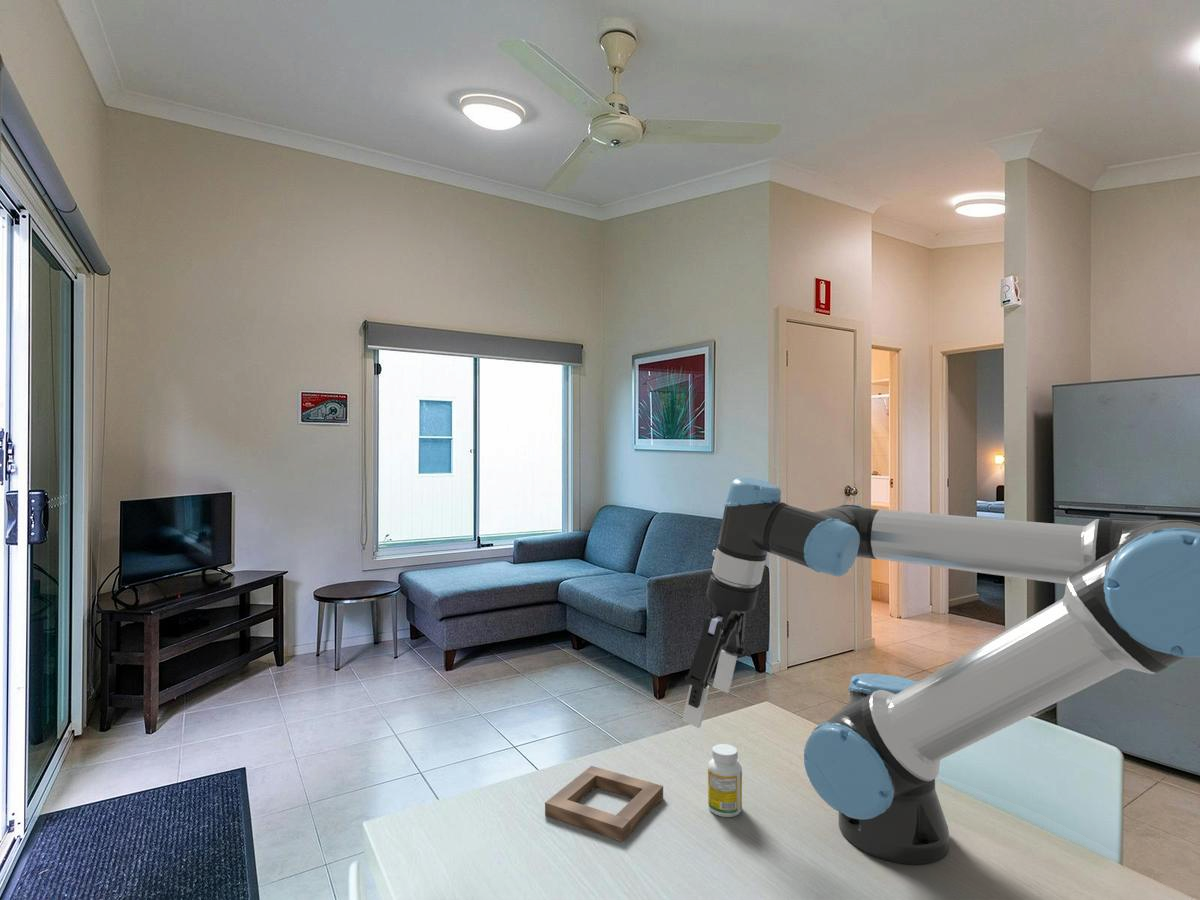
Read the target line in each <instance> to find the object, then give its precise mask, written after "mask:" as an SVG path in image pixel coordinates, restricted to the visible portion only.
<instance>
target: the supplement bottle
mask: <svg viewBox="0 0 1200 900" xmlns="http://www.w3.org/2000/svg"><path fill="white" fill-rule="evenodd" d="M738 755H739V754H738V749H737V748H736V747H735V746H733V745H731V744H728V743H719V744H715V745H713V747H712V748H711V757H712V758H711V759H710V760H709V762H708V764H707V788H708V789H707V791H708V792H707V797H708V798H707V799H708V800H707V801H708V804H707V805H708V808H709V811H710V812H711V813H712V814H714V815H716V816H719V817H723V818H733V817H736V816H738V815H740V813H741V811H742V809H743V807H742V806H743V801H742V800H743V781H742V780H743V768H742V765H741V763H740V761H739V760H738V757H739V756H738Z"/></svg>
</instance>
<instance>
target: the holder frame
mask: <svg viewBox="0 0 1200 900" xmlns="http://www.w3.org/2000/svg"><path fill="white" fill-rule="evenodd" d="M596 786H597V787H596ZM594 787H595V788H598V787H600V788H599V789H601V788H603V789H602V790H605V789H606V790H605V791H608V790H609V791H608V792H611V791H613V792H612V793H616V794H618V793H619V795H621V794H623V795H622V796H625V797H628V796H629V798H631V797H632V799H631V800H629V801H628V803H627V804H625V806H624V807H622V809H620V811H619V812H618V813H617V814H613V813H611V812H607V811H604V810H600V809H597V808H594V807H592V806H588V805H585V804H582V803H579V802H581V799H582V798H583V797H584V798H585V797H586V796H587V795H588V793H589V792H590V791H591V790H592V789H593V788H594ZM595 788H594V789H595ZM594 789H593V790H594ZM593 790H592V791H593ZM592 791H591V792H592ZM591 792H590V793H591ZM590 793H589V794H590ZM584 798H583V799H584ZM583 799H582V800H583ZM663 799H664V785H661V784H658V783H654V782H651V781H648V780H647V781H646V780H644V779H639V778H637V777H633V776H629V775H625V774H622V773H619V772H615V771H612V770H607V769H605V768H601V767H597V766H594V765H590V766H589V767H587V768H586V769H585V770H584V771H583V772H581V773H580V774H579V775H578V776H575V778H574V779H573V780H571V781H570V782H569V783H567V784H566V785H565V786H564V787H563V788H561V789H560V790H559V791H558V792H557V793H555V794H553V796H551V797H550V798H549V799H548V800H547V801H545V802H544V816H547V817H549V818H552V819H555V820H557V821H561V822H564V823H567V824H569V825H573V826H576V827H579V828H582V829H584V830H587V831H590V832H593V833H596V834H600V835H602V836H605V837H608V838H610V839H614V840H616V841H620V842H624V841H625V840H626V839H627V838H628V837H629V835H630V834H631V833H632V832H633V831H634V830H635V829H636V828H637V827H638V826H639V825H640V823H642V821H643V820H645V818H647V816H648V815H650V813H651V812H652V811H653V810H654V808H656V807H657V806H658V804H659V803H660V802H661V801H662V800H663Z"/></svg>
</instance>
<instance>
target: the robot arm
mask: <svg viewBox="0 0 1200 900" xmlns="http://www.w3.org/2000/svg"><path fill="white" fill-rule="evenodd" d="M781 495H782V490H781V488H780V487H779V486H778V485H775V484H773V483H771V482H769V481H765V480H762V479H757V478H751V477H739V478H738V477H737V478H736V479H734V480H733V481H731V483H730V487H729V490H728V493H727V498H726V501H725V503H724V511H723V516H722V521H721V526H720V530H719V535H718V540H717V544H716V549H713V551H711V555H712V557H714V560H713V563H712V568H711V571H712V574H711V575H709V580H708V583H707V589H706V592H705V593H706V598H707V600H708V601H709V602H710V603H712V604H713V606H714V607H715V610H714V612H712V613H711V615H710V616H706V619H705V620H704V627H703V630H702V633H701V637H700V640H699V643H698V645H697V648H696V651H695V653H694V656H693V659H692V662H691V665H690V668H689V671H688V674H687V675H685V676H684V681H685V684H688V685H689V687H688V693H687V697H686V702H685V705H684V711H683V715H682V722H684V723H687V724H689V725H691V726H693V727H695V728H696V729H699V728H701V726H702V722H703V718H704V717H703V716H704V712H705V708H706V704H707V701H708V700H707V699H708V696H709V695H708V694H709V690H710V685H709V682H710V680H711V678H712V674H713V672H714V670H715V667H716V670H715V674H714V679H713V682H712V688H714V689H716V690H719V691H720V692H723V693H726V694H729V693H730V689H731V686H732V681H733V677H734V672H735V669H736V664H737V659H738V655H739V656H743V654H744V651H745V649H744V648H742V647H743V646H744V644H745V643H744V641H745V640H744V639H745V629H746V628H745V627H746V615H747V612H750V611H753V610H754V609H755V607H756V603H757V598H758V594H759V591H760V588H759V584H761V583H762V580H763V574H764V569H765V565H766V561H767V554H768V553H770V554H773V555H775V556H778V557H780V558H783V559H786V560H788V561H790V562H793V563H796V564H798V565H801V566H804V567H806V568H809V569H810V570H812V571H814V572H817V573H822V574H825V575H830V576H833V577H842V576H845V574H847V573H848V572H849V569H851V568H852V566H853V565H854V563H855V561H856V559H857V558H862V559H863V558H864V559H873V560H883V561H889V562H897V563H905V564H912V565H919V566H920V565H921V566H928V567H935V568H942V569H950V570H957V571H963V572H964V571H965V572H971V573H977V574H978V573H980V574H986V575H994V576H1003V577H1008V578H1009V577H1010V578H1017V579H1024V580H1032V581H1039V582H1047V583H1048V582H1049V583H1054V584H1060V585H1061V584H1062V585H1065V590H1064V595H1063V597H1062V598H1061V599H1059V600H1057V601H1056V602H1054V603H1053V604H1051V605H1048V606H1047V607H1046V608H1043V609H1042V610H1040V611H1039V612H1037V613H1035V614H1033V615H1032V616H1029V617H1028V618H1026V619H1025V620H1022V621H1021V622H1019V623H1017V624H1016V625H1014V626H1012V627H1011V628H1008V629H1007V630H1005V631H1004V632H1002V633H1000V634H999V635H996V636H995V637H993V638H991V639H990V640H988V641H986V642H984V643H983V644H981V645H979V646H978V647H976V648H974V649H972V650H971V651H969V652H967V653H966V654H964V655H962V656H960V657H958V658H957V659H955V660H954V661H951V662H950V663H947V664H946V665H945V666H943V667H941V668H939V669H938V670H936V671H934V672H933V673H931V674H929V675H927V676H925V677H923V678H922V679H920V680H918V681H915V680H913V679H909V678H905V677H902V676H896V675H889V674H883V673H859V674H855V675H853V676H852V677H851V678H850V681H849V687H848V692H849V702H848V703H846V705H844V706H843V707H841V708H840V709H839V710H838V711H836V712H835V713H834V714H833V715H831V716H830V717H829V718H828V719H827V720H825V721H824V722H823V723H820V724H819V725H817V726H815V728H813V731H812V732H811V734H810V735H809V736H808V738H807V740H806V743H805V745H804V749H803V763H804V769H805V773H806V775H807V778H808V780H809V783H810V784H811V786H812V787H813V789H814V790H815V792H816V793H817V795H818V796H819V797H820V799H822V800H823V801H824V802H825V803H826V804H827V805H828V806H830V807H831V808H832V809H833V810H835V811H836V812H838V828H839V831H840V832H841V834H842V836H843V837H845V839H847V840H848V842H850V843H851V844H852V845H853V846H855V847H856V848H858V849H860V850H861V851H863V852H865V853H867V854H870V855H871V856H874V857H876V858H879V859H882V860H885V861H889V862H893V863H894V862H895V863H898V864H899V863H900V864H905V865H906V864H908V865H922V864H923V865H925V864H930V863H934V862H937V861H939V860H940V859H943V858H944V857H945V856H946V855H947V854H948V852H949V848H950V832H949V830H950V829H949V826H948V823H947V820H946V817H945V814H944V811H943V808H942V806H941V802H940V799H939V796H938V794H937V790H936V778H938V775H939V773H940V763H941V760H943V759H945V758H947V757H949V756H951V755H953V754H955V753H956V752H960V751H961V750H964V749H965V748H967V747H969V746H972V745H973V744H975V743H977V742H980V741H981V740H984V739H985V738H987V737H990V736H991V735H993V734H995V733H998V732H1001V731H1002V730H1003V729H1006V728H1008V727H1010V726H1012V725H1014V724H1016V723H1018V722H1020V721H1022V720H1024V719H1026V718H1028V717H1030V716H1032V715H1035V714H1036V713H1038V712H1040V711H1042V710H1043V709H1046V708H1048V707H1050V706H1052V705H1054V704H1057V703H1058V702H1060V701H1062V700H1064V699H1066V698H1069V697H1070V696H1073V695H1075V694H1076V693H1078V692H1081V691H1083V690H1085V689H1087V688H1089V687H1091V686H1093V685H1095V684H1097V683H1099V682H1101V681H1104V680H1105V679H1106V678H1109V677H1111V676H1112V675H1115V674H1118V673H1119V672H1121V671H1124V670H1133V671H1137V672H1140V673H1141V672H1142V673H1146V674H1149V675H1155V674H1156V673H1159V672H1161V671H1163V670H1165V669H1167V668H1169V667H1170V668H1171V667H1172V666H1174V665H1176V664H1178V663H1181V662H1182V661H1184V660H1186V659H1188V658H1200V522H1196V521H1191V520H1184V519H1158V520H1117V519H1116V520H1115V519H1105V518H1104V519H1100V518H1096V519H1094V520H1093V521H1091V522H1089V523H1088V524H1087V525H1075V524H1063V523H1049V522H1040V521H1039V522H1037V521H1026V520H1025V521H1024V520H1017V519H1016V520H1015V519H1014V520H1013V519H1003V518H1002V519H1000V518H991V517H989V518H988V517H978V516H977V517H976V516H965V515H953V514H951V515H950V514H941V513H930V512H928V513H926V512H917V511H915V512H913V511H903V510H893V509H877V508H867V507H864V506H861V505H856V504H842V505H840V506H836V507H835V506H834V507H832V508H828V509H822V510H821V509H820V510H817V511H809V510H806V509H803V508H798V507H796V506H792V505H789V504H786V502H783V501H781V499H782V498H781Z"/></svg>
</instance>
